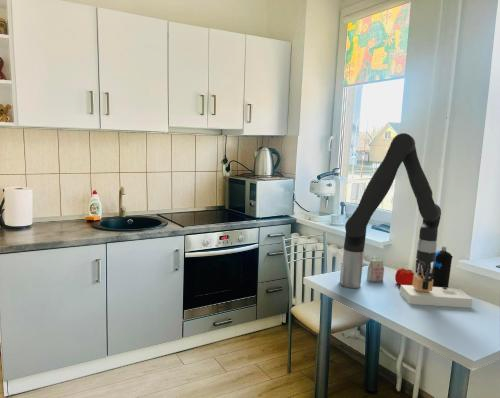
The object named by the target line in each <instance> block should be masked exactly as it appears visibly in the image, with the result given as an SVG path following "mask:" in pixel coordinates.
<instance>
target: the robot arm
mask: <svg viewBox="0 0 500 398" xmlns="http://www.w3.org/2000/svg"><path fill="white" fill-rule="evenodd" d="M402 163H403V165H404V168H405V171H406V173H407V178H408V180H409V184H410V185H409V186H410V187H411V190H412V192H413V194H414V197H415V199H416V205H417V207H418V211H419V214H420V216H421V218H422V224H421V226H420V228H419V236H418V239H417V240H418V242H417V247H416V254H415V255H416V256H415V257H416V259H415V273H416V275H421V273H422V276H423V286H422V289H424V290H427V289H428V284H429V281H430V282H432V278H433V273H434V269H433V268H432V263H433V262H434V261H435V255H436V252H437V246H438V245H437V240H438V230H439V225H440V221H441V215H442V209H441V207H440V205H438V204H437V203H435V201H434V198H433V190H432V187H431V186H430V183H429V181H428V178H427V176H426V174H425V172H424V169H423V168H422V165H421V162H420V159H419V157H418V153H417V148H416V141H415V138H414V137H413V136H411V135H410V134H408V133H404V132H403V133H397V134H396V135H395V136H394V137H393V139H392V140H391V142H390V145H389V147H388V149H387V151H386V153H385V155H384V157H383V160H382V161H381V163H380V164H379V165H378V167H377V168H376V170H375V172H374V173H373V175H372V176H371V178H370V180H369V182H368V183H367V185H366V187H365V189H364V191H363V194H362V196H361V198H360V201H359V203H358V206H357V207H356V209H355V210H354V212H353V213H352V214H351V216H350V217H349V218H348V219H347V220H346V222H345V226H344V229H345V237H344V244H343V255H342V262H341V263H340V264H341V265H340V275H339V276H340V277H339V283H340V285H341V287H346V288H352V289H358V288H360V287H361V283H362V276H363V275H362V273H363V262H364V253H365V244H366V237H367V227H368V224H369V222H370V219H371V218H372V216H373V214H374V213H375V211H376V210H377V209H378V208H379V206H380V205H381V203H383V201H384V199H385V198H386V196H387V194H388V193H389V192H390V189H391V187H392V185H393V183H394V181H395V178H396V175H397V172H398V171H399V168H400V166H401V165H402ZM424 273H426V274H424ZM425 276H426V277H425Z"/></svg>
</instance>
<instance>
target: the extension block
mask: <svg viewBox="0 0 500 398" xmlns="http://www.w3.org/2000/svg"><path fill="white" fill-rule="evenodd" d="M424 292H425V291H421V290H420V292H418V291H416V289H415V288H414V287H413V286H412V285H400V289H399V294H400V295H401V296H402V297H403V298H404V299H405V301H406V302H407V304H409V305H422V306H437V307H454V308H466V309H469V308H470V309H471V308H472V306H473V305H472V304H473V298H472V297H471V296H469V295H468V294H466V293H465V292H464V291H463V290H461V289H460V288H458V287H456V288H454V287H449V288H446V287H432V291H426V293H424Z"/></svg>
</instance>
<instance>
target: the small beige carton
mask: <svg viewBox="0 0 500 398" xmlns="http://www.w3.org/2000/svg"><path fill="white" fill-rule="evenodd" d="M384 274H385V267H384V261H383V260H382V259H381V260H371V261H370V263H369V264H368V267H367V273H366V280H367V281H369V282H371V283H372V282H383V281H384Z"/></svg>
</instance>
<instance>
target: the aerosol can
mask: <svg viewBox="0 0 500 398" xmlns="http://www.w3.org/2000/svg"><path fill="white" fill-rule="evenodd" d="M452 260H453V256H452V254H451V253H450V252H449V251H447V246H444V245H443V246H441V250H438V251H437V250H436V255H435V261H434V262H432V263H433V264H432V269H434V273H433V278H432V279H433V287H446V288H450V287H449V286H450V285H449V283H450V276H451V268H452V263H453V262H452Z"/></svg>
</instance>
